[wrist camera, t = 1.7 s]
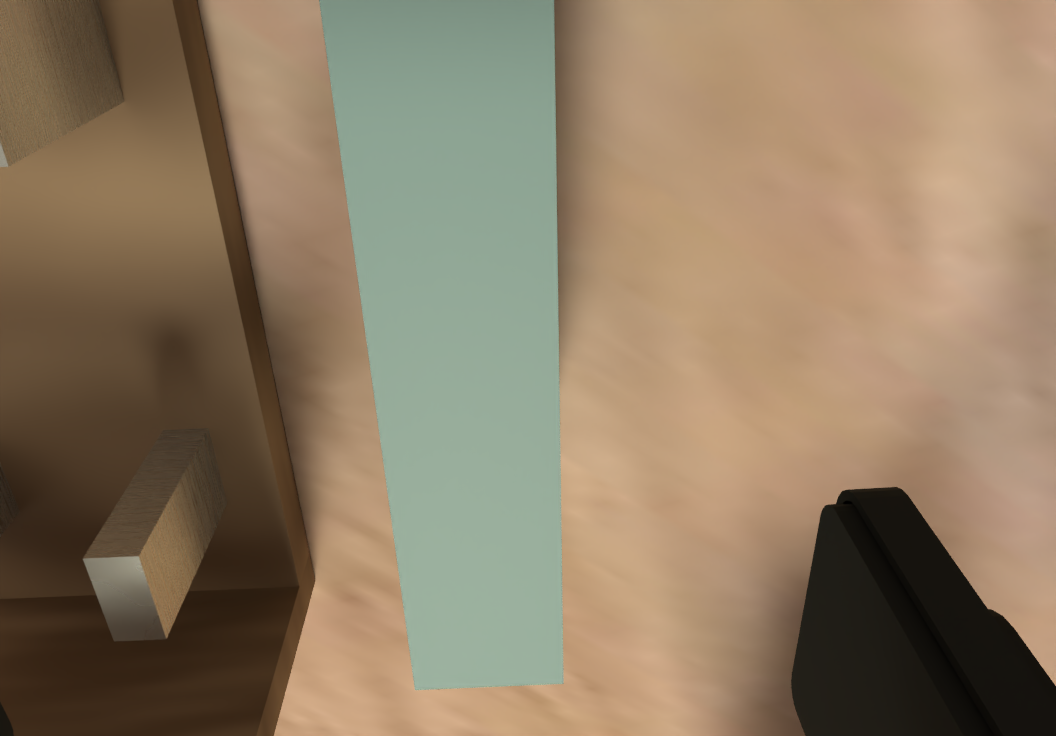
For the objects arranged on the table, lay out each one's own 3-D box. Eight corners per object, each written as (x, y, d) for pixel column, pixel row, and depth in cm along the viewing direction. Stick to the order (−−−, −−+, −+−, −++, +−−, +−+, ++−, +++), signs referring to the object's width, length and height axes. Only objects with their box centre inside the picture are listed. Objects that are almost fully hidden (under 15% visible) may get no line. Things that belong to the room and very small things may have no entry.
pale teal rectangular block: (390, -106, 18) (305, -102, 10) (530, -111, 18) (552, -111, 10) (442, 439, 25) (415, 689, 17) (543, 434, 25) (563, 683, 17)
